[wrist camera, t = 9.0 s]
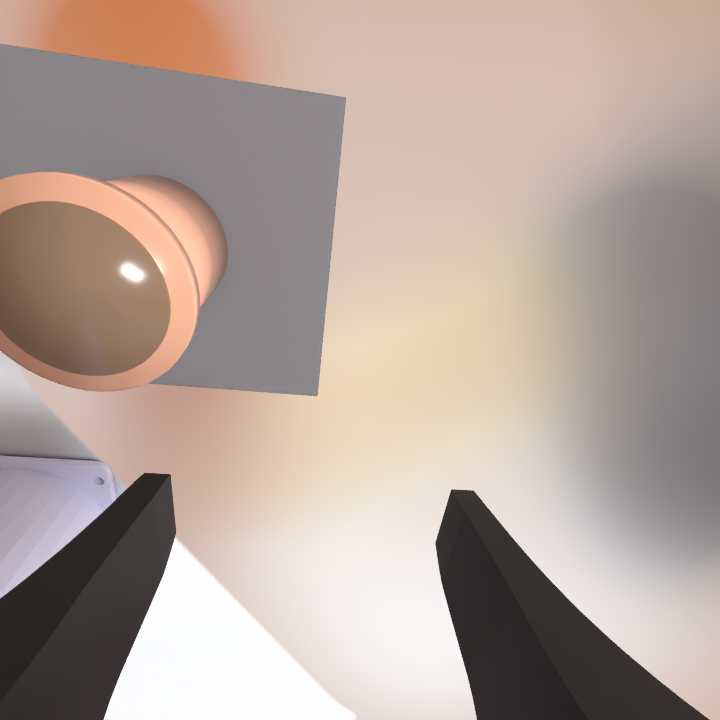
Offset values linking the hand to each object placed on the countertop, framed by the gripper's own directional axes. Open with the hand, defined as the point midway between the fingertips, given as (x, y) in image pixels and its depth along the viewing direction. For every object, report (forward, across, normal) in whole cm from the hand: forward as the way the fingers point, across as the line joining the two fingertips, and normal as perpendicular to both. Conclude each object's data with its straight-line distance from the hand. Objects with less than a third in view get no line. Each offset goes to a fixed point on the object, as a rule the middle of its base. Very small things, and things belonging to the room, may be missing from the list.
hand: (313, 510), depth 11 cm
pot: (+9, +6, -4) cm, 12 cm away
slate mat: (+9, +6, -4) cm, 12 cm away
